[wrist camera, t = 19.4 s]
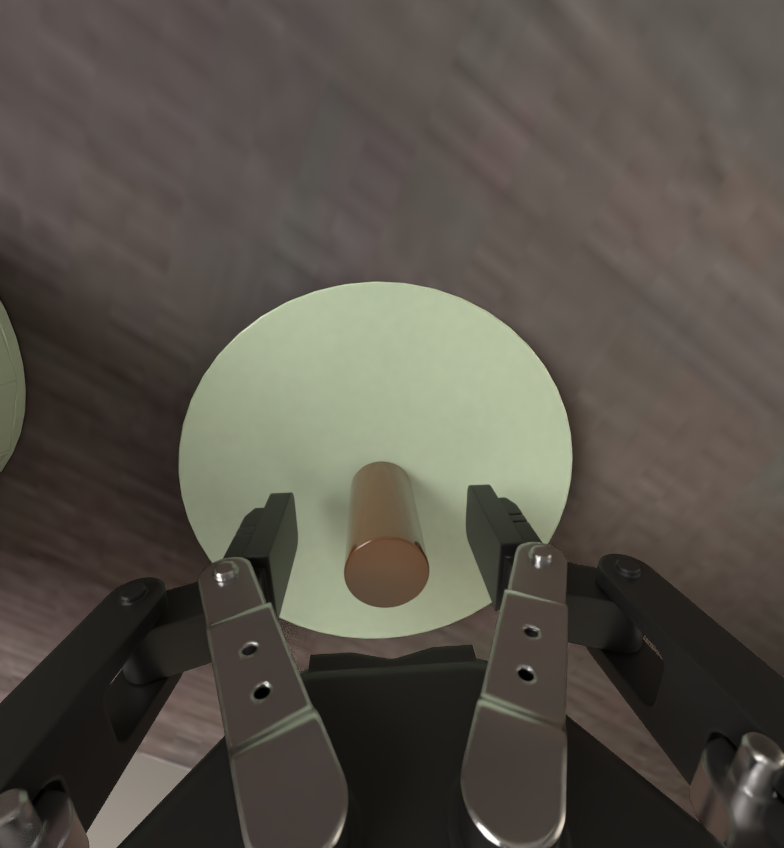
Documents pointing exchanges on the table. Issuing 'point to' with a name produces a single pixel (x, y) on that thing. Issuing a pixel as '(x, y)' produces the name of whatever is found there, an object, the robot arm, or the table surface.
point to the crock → (10, 389)
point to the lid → (375, 449)
